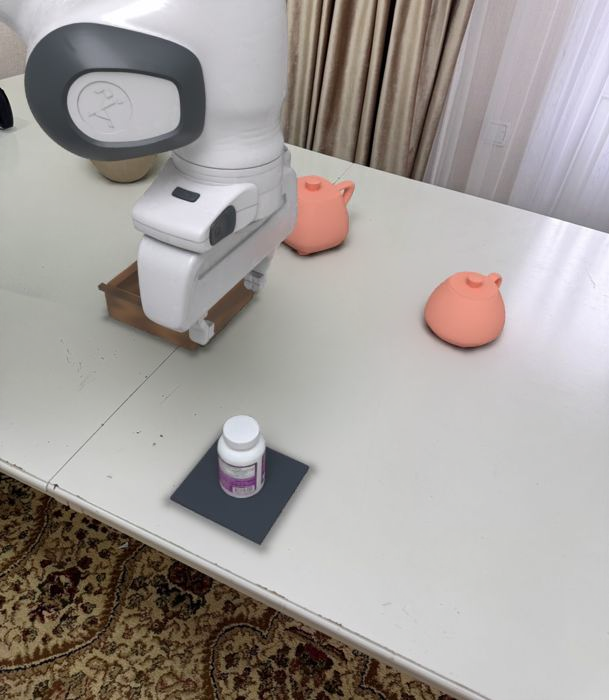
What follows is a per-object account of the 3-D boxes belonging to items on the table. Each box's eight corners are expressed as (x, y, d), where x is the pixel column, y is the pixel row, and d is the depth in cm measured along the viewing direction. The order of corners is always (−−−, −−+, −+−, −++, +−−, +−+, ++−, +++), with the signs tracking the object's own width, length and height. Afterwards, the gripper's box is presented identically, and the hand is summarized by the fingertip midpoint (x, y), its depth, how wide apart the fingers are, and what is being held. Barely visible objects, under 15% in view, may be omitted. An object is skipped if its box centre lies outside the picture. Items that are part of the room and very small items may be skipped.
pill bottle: (236, 456, 76) (236, 402, 70) (272, 475, 75) (275, 422, 68) (209, 486, 73) (206, 433, 66) (247, 508, 71) (247, 455, 65)
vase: (97, 155, 135) (71, 1, 115) (173, 161, 135) (160, 9, 115) (72, 191, 123) (39, 26, 103) (157, 198, 123) (139, 34, 103)
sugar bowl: (405, 323, 99) (417, 270, 92) (461, 293, 106) (476, 241, 99) (465, 366, 92) (483, 312, 85) (521, 330, 99) (541, 278, 92)
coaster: (170, 499, 72) (169, 497, 71) (226, 430, 80) (226, 428, 80) (260, 545, 68) (260, 543, 68) (309, 468, 76) (309, 465, 76)
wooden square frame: (103, 315, 96) (97, 285, 92) (171, 260, 108) (169, 232, 104) (197, 354, 90) (195, 324, 87) (258, 292, 102) (259, 264, 99)
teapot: (240, 236, 115) (239, 175, 106) (329, 212, 123) (335, 154, 115) (276, 273, 107) (279, 210, 98) (369, 245, 115) (378, 184, 107)
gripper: (259, 127, 59) (257, 251, 68) (115, 220, 45) (136, 360, 54) (319, 144, 57) (308, 269, 66) (188, 246, 43) (197, 387, 52)
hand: (230, 311), depth 60 cm, fingers open, 8 cm apart
